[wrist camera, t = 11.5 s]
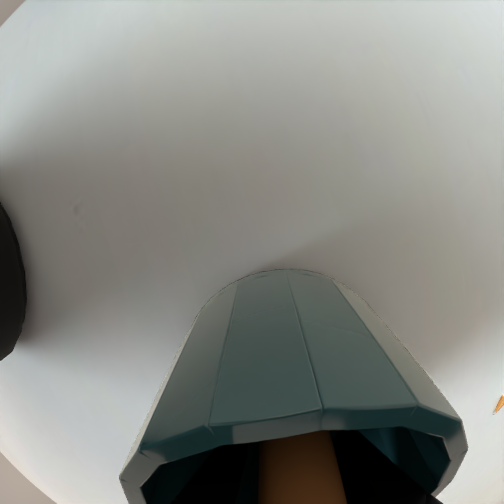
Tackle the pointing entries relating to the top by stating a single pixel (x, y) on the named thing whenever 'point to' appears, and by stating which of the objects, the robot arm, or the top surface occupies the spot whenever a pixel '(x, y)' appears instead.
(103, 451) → the top surface
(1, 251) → the coffee jar
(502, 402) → the pencil
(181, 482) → the teal cup
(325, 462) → the tan wooden dowel
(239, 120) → the top surface
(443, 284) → the top surface
